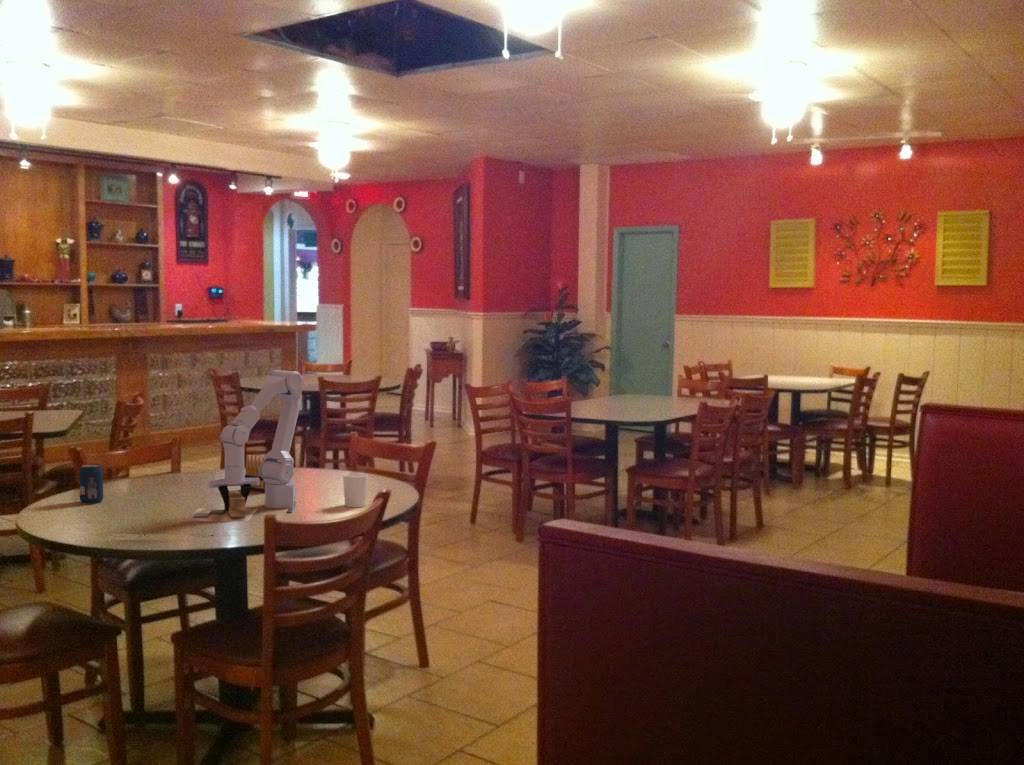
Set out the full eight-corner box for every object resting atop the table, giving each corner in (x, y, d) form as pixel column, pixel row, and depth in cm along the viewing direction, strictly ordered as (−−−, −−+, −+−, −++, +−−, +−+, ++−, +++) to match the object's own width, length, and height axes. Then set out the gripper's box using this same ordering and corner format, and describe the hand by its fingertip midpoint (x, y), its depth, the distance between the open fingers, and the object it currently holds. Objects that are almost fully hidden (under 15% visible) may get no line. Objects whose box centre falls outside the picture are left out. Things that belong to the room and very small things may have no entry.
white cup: (371, 503, 329) (371, 473, 328) (361, 509, 321) (361, 478, 320) (349, 501, 331) (349, 471, 330) (338, 507, 324) (339, 476, 323)
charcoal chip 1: (210, 515, 303) (210, 513, 303) (207, 518, 299) (207, 516, 299) (196, 515, 302) (196, 513, 302) (193, 518, 298) (193, 516, 298)
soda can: (94, 498, 328) (93, 462, 327) (108, 501, 324) (107, 464, 323) (75, 502, 322) (74, 465, 321) (89, 505, 318) (88, 468, 317)
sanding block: (237, 509, 310) (237, 490, 310) (245, 518, 300) (245, 498, 299) (224, 510, 309) (224, 491, 308) (231, 519, 298) (231, 499, 297)
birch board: (257, 513, 312) (257, 508, 312) (248, 526, 296) (247, 521, 296) (198, 513, 311) (198, 508, 311) (185, 525, 295) (185, 520, 295)
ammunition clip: (271, 492, 344) (271, 457, 342) (267, 493, 342) (267, 458, 341) (248, 488, 349) (248, 454, 348) (244, 489, 347) (244, 454, 346)
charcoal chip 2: (224, 511, 308) (224, 509, 308) (223, 514, 304) (223, 512, 304) (211, 511, 307) (211, 509, 307) (209, 514, 303) (209, 512, 303)
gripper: (256, 461, 309) (256, 505, 310) (207, 464, 303) (207, 508, 304) (261, 465, 303) (261, 510, 304) (211, 468, 296) (211, 513, 298)
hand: (234, 509), depth 304 cm, fingers closed on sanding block, 4 cm apart
